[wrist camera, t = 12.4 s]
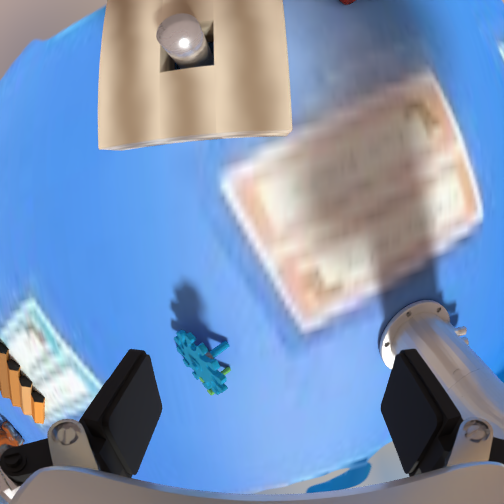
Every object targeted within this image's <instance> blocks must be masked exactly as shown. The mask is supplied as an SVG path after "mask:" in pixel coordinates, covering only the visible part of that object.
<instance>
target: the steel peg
mask: <svg viewBox="0 0 504 504" xmlns="http://www.w3.org/2000/svg"><path fill="white" fill-rule="evenodd" d="M156 38H157V41H158V42H159V44H160V45H161V46H162V47H163V48H164V49H165V51H166V52H167V53H168V54H169V55H170V56H171V58H172V59H173V60H174V61H175V62H176V63H177V65H178V66H179V67H180V68H181V69H186V68H193V67H202V66H211V65H214V57H213V55H212V52H211V50H210V48H209V45H208V43H207V41H206V38H205V36H204V34H203V31H202V29H201V27H200V25H199V22H198V20H197V19H196V18H195V17H194V16H192V15H190V14H185V13H180V14H175V15H172V16H170V17H168V18H166V19H165V20H164V21H163V22H162V23H161V24H160V25H159V27H158V29H157V32H156Z"/></svg>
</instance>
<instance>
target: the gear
mask: <svg viewBox="0 0 504 504" xmlns="http://www.w3.org/2000/svg"><path fill="white" fill-rule="evenodd" d="M174 340H175V341H176V343H177V344H178V346H177V351H178V352H179V353H180V354H181V355H183V356H184V357H185V358H184V359H183V361H184V363H185V365H186V366H187V367H191V368H192V369H193V370H194V372H192V374H193V375H194V377H195V378H196V379H197V380H198V379H200V380H201V381H202V382H203V385H204V387H205V388H207V389H208V390H207V391H208V393H209V394H210V395H213V394H214V393H215V394H217V395H218V394H220V393H222V392H224V391H225V390H226V389H228V388H227V386H226V385H225V384H224V383H225V382H226V377H225V375H226V374H227V373H228V372H230V371H231V369H230V368H229V367H227V368H225V369H224V370H223V371H221V372H219V371H218V370H217V369H218V368H220V365H219V363H218V361H217V360H216V359H214V357H216V356H217V355H218V354H220V353H221V352H223V351H224V350H225V349H227V348H228V347H229V344H228V342H226V341H224V342H222V343H221V344H220V345H218V346H217V347H215V348H214V349H213V350H211V351H210V352H209V350H208V349H207V347H206V346H205V345H204V343H201V344H200V345H198V346H196V345H195V343H194V342H195V341H196V337H195V336H194V335H193V334H192V333H191V332H189V333H187V334H186V332H185V331H184V330H180V331H178V332H177V336H176V337H175V338H174Z"/></svg>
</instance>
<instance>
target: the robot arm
mask: <svg viewBox="0 0 504 504" xmlns="http://www.w3.org/2000/svg"><path fill="white" fill-rule="evenodd" d="M466 331H467V330H466V327H465V326H463V327H458V328H455V327H454V326H453V325H452V324H451V323H450V317H449V314H448V312H447V310H446V309H445V308H444V307H443V306H442V305H441V304H439V303H438V302H436V301H433V300H421V301H417V302H414V303H412V304H410V305H408V306H406V307H405V308H403V309H402V310H401V311H399V312H398V313H397V314H396V315H395V316H394V317H393V318H392V320H391V321H390V322H389V323H388V325H387V327H386V328H385V330H384V332H383V334H382V337H381V341H380V355H381V358H382V360H383V362H384V363H385V365H386V366H387V367H388V368H390V369H391V370H392V371H391V374H390V377H389V381H388V384H387V387H386V391H385V394H384V397H383V400H382V403H381V412H382V415H383V417H384V420H385V422H386V425H387V427H388V430H389V432H390V435H391V438H392V440H393V443H394V445H395V448H396V451H397V453H398V456H399V458H400V461H401V464H402V467H403V469H404V472H405V473H406V474H408V473H409V476H410V477H407V478H403V479H399V480H394V481H390V482H385V483H380V484H375V485H371V486H365V487H358V488H352V489H345V490H337V491H328V492H318V493H305V494H285V495H284V494H283V495H282V494H281V495H255V494H233V493H219V492H209V491H200V490H192V489H185V488H178V487H172V486H167V485H161V484H156V483H151V482H146V481H141V480H137V479H133V478H131V477H132V474H133V475H136V474H137V472H138V470H139V467H140V464H141V462H142V459H143V457H144V454H145V452H146V449H147V447H148V444H149V442H150V439H151V437H152V434H153V432H154V430H155V427H156V425H157V422H158V420H159V417H160V415H161V412H162V403H161V399H160V395H159V392H158V388H157V384H156V380H155V376H154V371H153V367H152V363H151V358H150V356H149V355H146V352H145V351H143V350H135V349H130V350H129V351H128V352H127V353H126V355H125V356H124V358H123V359H122V361H121V362H120V363H119V365H118V366H117V368H116V369H115V370H114V372H113V373H112V375H111V376H110V378H109V379H108V380H107V381H106V382H105V384H104V385H103V387H102V388H101V389H100V391H99V392H98V394H97V395H96V397H95V398H94V400H93V401H92V403H91V404H90V406H89V407H88V408H87V410H86V411H85V413H84V414H83V416H82V417H81V419H80V420H79V422H78V421H76V420H73V419H63V420H60V421H57V422H56V423H54V424H53V425H52V426H51V427H50V428H49V431H48V438H47V439H43V440H39V441H36V442H32V443H28V444H24V445H20V446H16V447H12V448H9V449H7V450H6V451H4V452H3V454H2V455H1V458H0V504H504V383H503V382H502V381H501V380H500V379H499V378H498V377H497V376H496V375H495V374H494V373H493V371H492V370H491V369H490V368H489V367H488V366H487V365H486V364H485V363H484V362H483V361H482V360H481V358H480V357H479V356H478V355H477V354H476V353H475V352H474V351H473V350H472V349H471V348H470V347H469V346H468V339H467V338H466V337H463V338H460V337H459V336H461V335H465V334H466Z"/></svg>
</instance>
